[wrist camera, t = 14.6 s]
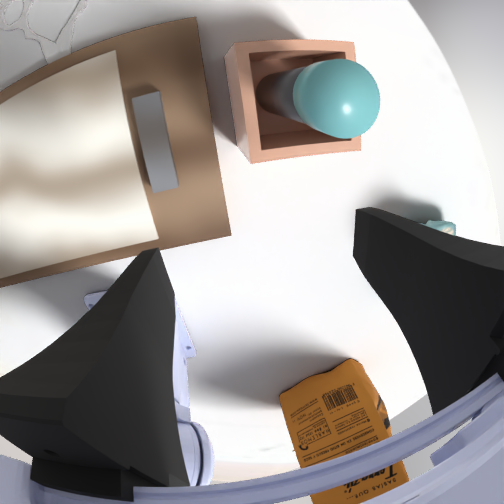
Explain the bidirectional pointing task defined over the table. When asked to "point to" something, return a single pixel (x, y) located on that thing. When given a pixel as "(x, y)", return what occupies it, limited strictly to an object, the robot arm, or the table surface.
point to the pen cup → (270, 125)
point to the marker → (323, 97)
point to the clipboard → (109, 155)
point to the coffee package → (340, 428)
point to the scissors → (48, 47)
